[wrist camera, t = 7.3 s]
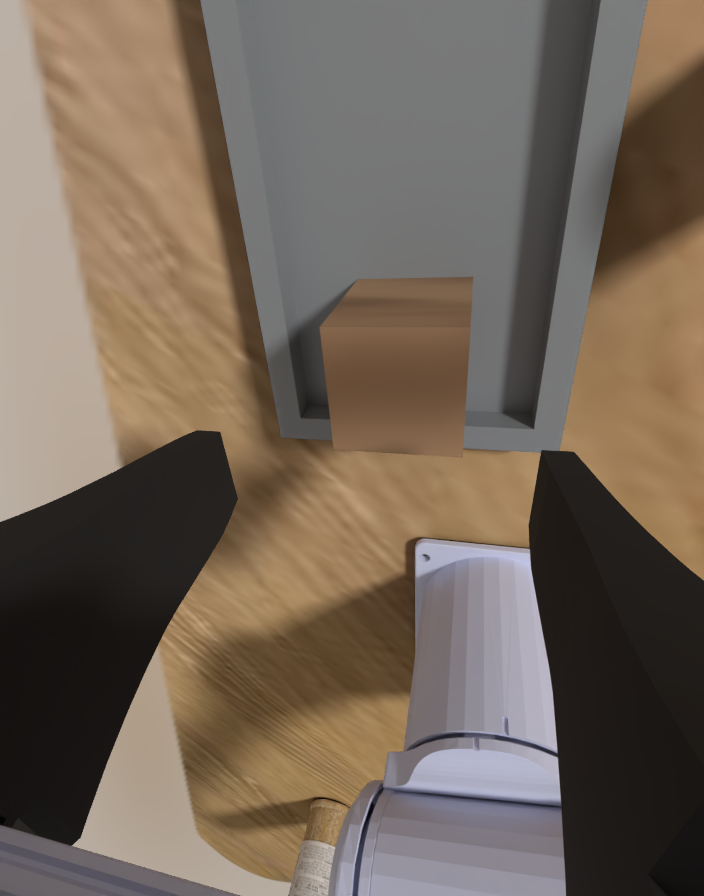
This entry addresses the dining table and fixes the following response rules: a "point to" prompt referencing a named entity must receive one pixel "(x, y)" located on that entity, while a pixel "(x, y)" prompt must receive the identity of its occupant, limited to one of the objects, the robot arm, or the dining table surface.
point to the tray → (427, 179)
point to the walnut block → (399, 365)
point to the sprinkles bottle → (318, 849)
